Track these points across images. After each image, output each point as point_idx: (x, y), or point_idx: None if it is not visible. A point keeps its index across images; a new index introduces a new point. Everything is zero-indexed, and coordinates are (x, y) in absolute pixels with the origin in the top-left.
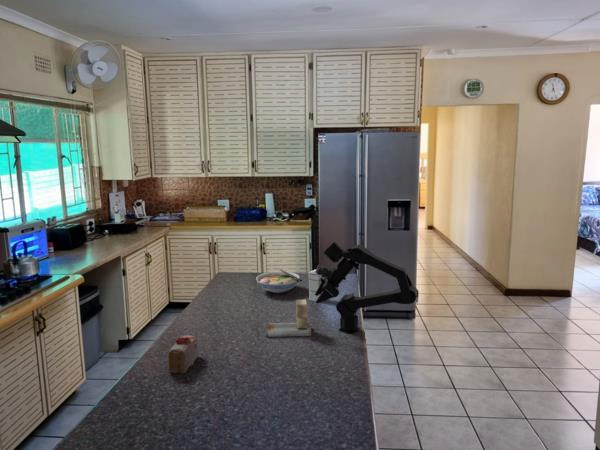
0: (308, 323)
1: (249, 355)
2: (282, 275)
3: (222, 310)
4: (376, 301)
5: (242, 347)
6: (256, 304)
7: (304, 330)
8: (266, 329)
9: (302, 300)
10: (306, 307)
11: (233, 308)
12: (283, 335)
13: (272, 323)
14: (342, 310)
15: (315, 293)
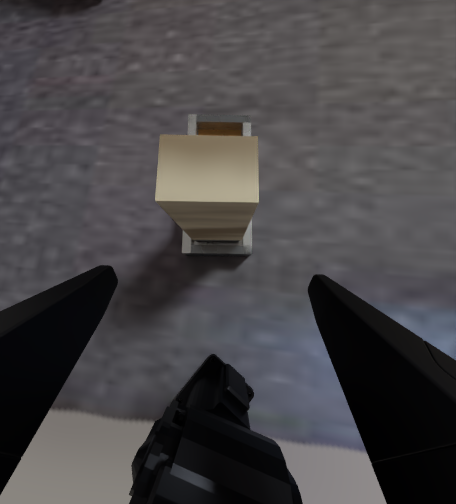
0: (238, 248)
1: (89, 94)
2: None
3: (388, 18)
4: None
5: (138, 78)
6: (443, 101)
7: (183, 230)
8: (202, 115)
9: (239, 176)
10: (164, 207)
11: (404, 43)
12: None
13: (248, 132)
14: (139, 451)
15: (321, 279)
